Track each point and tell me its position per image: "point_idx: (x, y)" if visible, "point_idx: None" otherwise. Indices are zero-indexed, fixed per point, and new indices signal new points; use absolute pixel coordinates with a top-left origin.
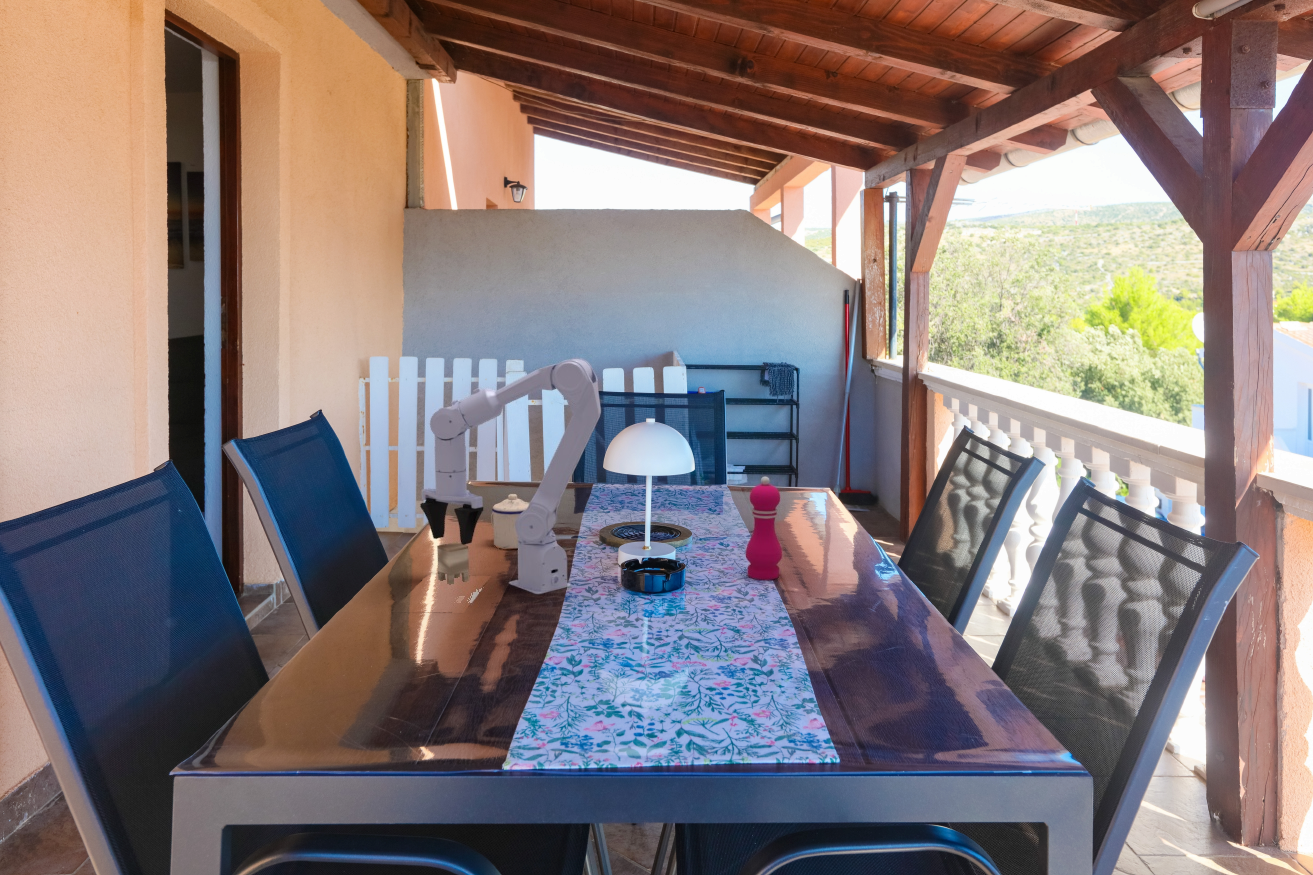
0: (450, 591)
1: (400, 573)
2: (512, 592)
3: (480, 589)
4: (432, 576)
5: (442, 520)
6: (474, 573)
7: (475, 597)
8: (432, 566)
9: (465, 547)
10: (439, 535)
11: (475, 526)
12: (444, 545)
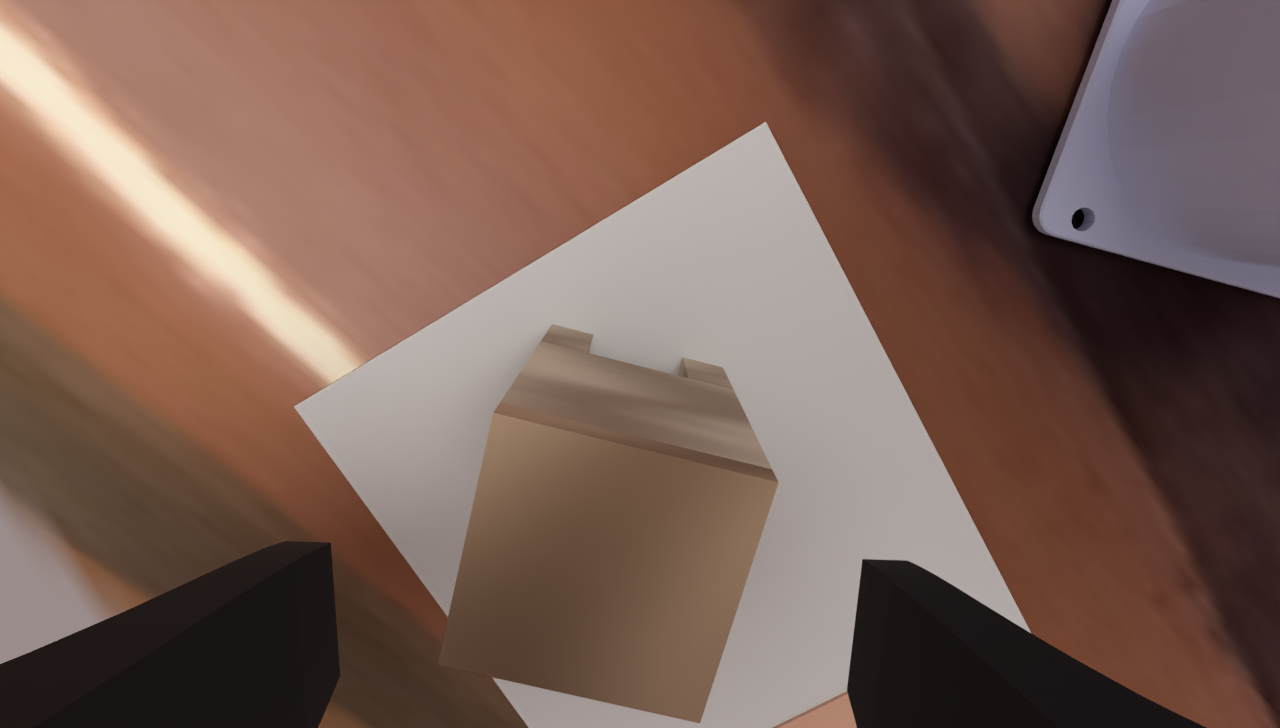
0: None
1: (70, 449)
2: (1156, 353)
3: (937, 470)
4: (336, 375)
5: (156, 723)
6: (550, 118)
7: (1021, 616)
8: (81, 158)
9: (762, 512)
10: (322, 637)
11: (1114, 688)
12: (501, 614)
